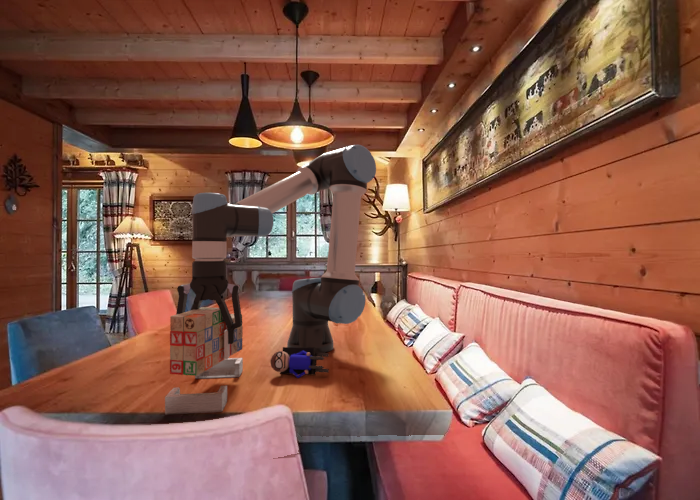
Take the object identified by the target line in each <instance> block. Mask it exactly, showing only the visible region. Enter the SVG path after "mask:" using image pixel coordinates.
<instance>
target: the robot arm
mask: <svg viewBox="0 0 700 500" xmlns="http://www.w3.org/2000/svg"><path fill="white" fill-rule="evenodd" d="M376 174H377V165H376V161H375V157H374V156H373V155H372V152H371V151H370V150H369V149H368V148H367V147H365V146H364V145H361V144H353V145H347V146H345V147H342V148H338V149H335V150H332V151H327V152H324V153H322V154H321V155H319V156H318V157H316V158H313V159H312V160H311V161H309V162H307V163H306V164H304V165H301V166H300V167H298V168H297V170H296V172H295V173H293V174H291V175H289V176H287V177H285V178H283V179H280V180H279V181H277V182H275V183H273V184H271V185H269V186H267V187H265V188H263V189H261V190H259V191H257V192H255V193H253V194H251V195H248V196H247V197H245V198H243V199H241V200H239V201H236V203H234V204H231V203H229V202H228V200H227V199H228V198H227V196H226V195H225V194H223V193H218V192H198V193H196V194H194V196H193V201H192V210H191V215H192V216H191V219H192V220H191V223H192V245H191V246H192V247H191V248H192V249H191V252H192V253H191V254H192V255H191V258H192V259H194V261H193V262H192V264H191V268H192V269H191V274H192V275H191V282H190V283H188V284H181V285H178V286H177V292H178V293H177V294H178V300H177V307H176V312H175V313H176V314H175V315H177V314H181V313H184V312H186V309H187V308H186V307H187V302H188V294H189V293H190V290H191V291H192V292H193V293H194V294H195V297H194V299H193V303H192V305H191V308H190V310H197V309H199V308H201V305H202V303H203V301H208V300H209V301H215V303H216V305H217V306H218V308H219V309H220V310H221V314H222V316H223V319H224V321H225V323H226V326H227V328H228V329H226V330H225V331H224V359H228V358H230V357H231V356H230V344H233V342H234V330H235V328H239V327H240V326H241V325H242V326H243V315H242V316H241V314H242V311H241V303H240V302H241V301H240V295H239V294H240V289H241V285H239V284H233V283H229V281H228V279H227V261H226V260H225V259H226V258H227V248H228V247H227V243H228V242H227V240H228V239H227V238H235V237H266V236H268V235H270V233H271V232H272V231H273V228H274V215H273V214H274V213H275V212H277V211H279V210H281V209H283V208H285V207H286V206H288V205H290V204H292V203H294V202H296V201H297V200H299V199H302V198H303V197H305V196H307V195H311V196H312V195H314V194H316V193H318V192H320V191H326V190H330V192H331V193H332V194H333V196H332V209H331V222H330V231H329V232H330V233H329V239H328V241H329V243H328V250H327V251H328V253H327V263H326V264H327V265H326V271H325V272H324V273H323V274H322V275H321V277H314V278H303V279H302V278H301V279H296V280H294V282H293V284H292V290H291V294H292V327H291V329H290V333H289V336H288V339H287V341H286V342H287V344H286V347H292V348H313V347H315V348H317V353H328V352H331V351H333V350H334V339H333V336H332V333H331V329H330V327H329V322H332V323H335V324H343V325H348V324H352V323H354V322H356V321H357V320H358V318H359V317H361V315H362V314H363V311H364V310H365V307H366V294H365V293H364V290H363V289H362V287H360V285H359V284H360V279H359V277H358V276H357V275H356V264H357V263H356V261H357V250H358V239H359V227H360V226H359V225H360V214H361V201H362V196H363V195H365V194H366V193H367V190H368V189H367V188H368V183H370V182H371V181H372V180H373V179H374V178H375V176H376ZM227 289H228V290H229V293H230V294H231V302H232V309H233V310H232V311H233V314H234V318H235V323H234V322H233V320H232V317H231V315H230V314H231V312H230V311H229V308H228V306H227V303H226V301H225V297H224V293H225V292H226V290H227Z"/></svg>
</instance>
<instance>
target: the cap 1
mask: <svg viewBox="0 0 700 500" xmlns="http://www.w3.org/2000/svg"><path fill="white" fill-rule="evenodd" d="M180 389H181V388H180V387H179V386H178V387H173V388H172V389H171V390H170V391H169V392H168V393H167V394H166V395H165V396H164V415H165V416H166V415H186V414H205V413H222V412H223V411H224V409H225V407H226V405H227V403H228V385H226V384H225V385H220V387H219V389H218V390H217V392H198V393H197V392H196V393H181V390H180Z"/></svg>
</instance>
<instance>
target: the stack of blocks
mask: <svg viewBox="0 0 700 500" xmlns="http://www.w3.org/2000/svg"><path fill="white" fill-rule="evenodd" d="M230 315H231V317H232V320H233V322H234V323H235V318H234V313H230ZM241 316H242V317H243V314H242V313H241ZM169 318H170V319H169V320H170V323H169V324H170V327H169V328H170V329H169V330H170V331H169V345H170V349H169V358H170V359H169V374H170V375H178V376H179V375H181V376H183V375H185V376H193V377H195V376H197V375H199V374H200V373H202V372H204V371H206V370H208V369H209V368H211V367H213V366H215V365H216V364H218V363H219V362H221V361H223V360H224V331H225V330H226V329H228V328H227V326H226V323H225V321H224V319H223V316H222V314H221V310H220V309H219V307H203V306H200V307H199V309H197V310H191V309H189V310H188V311H185V312H184V313H181V314H177V315H176V314H174V315H170V317H169ZM243 330H244V329H243V324H242V325H241V326H240V327H239V328H235V330H234V342H233V344H230V356H229V357H231V356H233V355H234V354H236V353H238V352H240V351H241V350H243V332H244V331H243Z"/></svg>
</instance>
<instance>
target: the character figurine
mask: <svg viewBox="0 0 700 500" xmlns="http://www.w3.org/2000/svg"><path fill="white" fill-rule="evenodd" d="M326 357H327V358H328V357H329V353H328V352H325V353H317V348H315V347H313V348H292V347H287V346H283V347H282V350H279V351H277V352H275V353H273V354H272V355H271V358H270V366H271V368H272V369H273V371H274V372H277V373H279V374H285V375H294V376H295V378H297V379H299V378H302V377H303V376H306V375H307V376H316V373H326V374H327V373H329V372H330V371H329V368H325V367H324V366H323V365H317V360H318V361H323V360H325V358H326Z"/></svg>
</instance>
